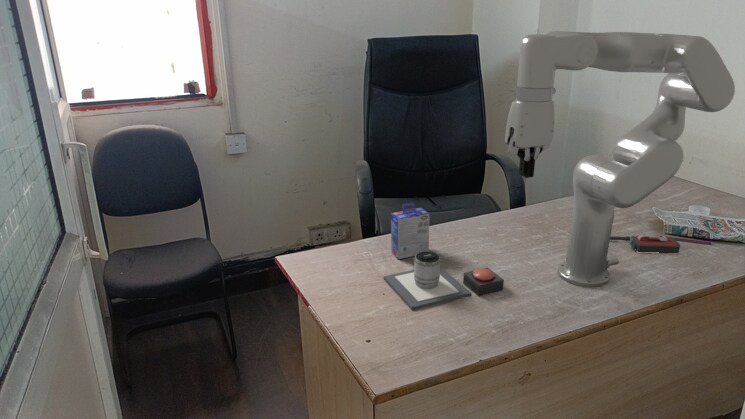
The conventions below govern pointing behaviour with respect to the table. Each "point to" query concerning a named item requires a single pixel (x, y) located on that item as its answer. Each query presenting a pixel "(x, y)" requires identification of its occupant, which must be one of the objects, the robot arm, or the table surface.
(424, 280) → the camera lens
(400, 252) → the ink cartridge box
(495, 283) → the button housing
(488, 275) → the button
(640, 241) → the walkie-talkie
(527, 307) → the table surface
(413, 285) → the desk mat
